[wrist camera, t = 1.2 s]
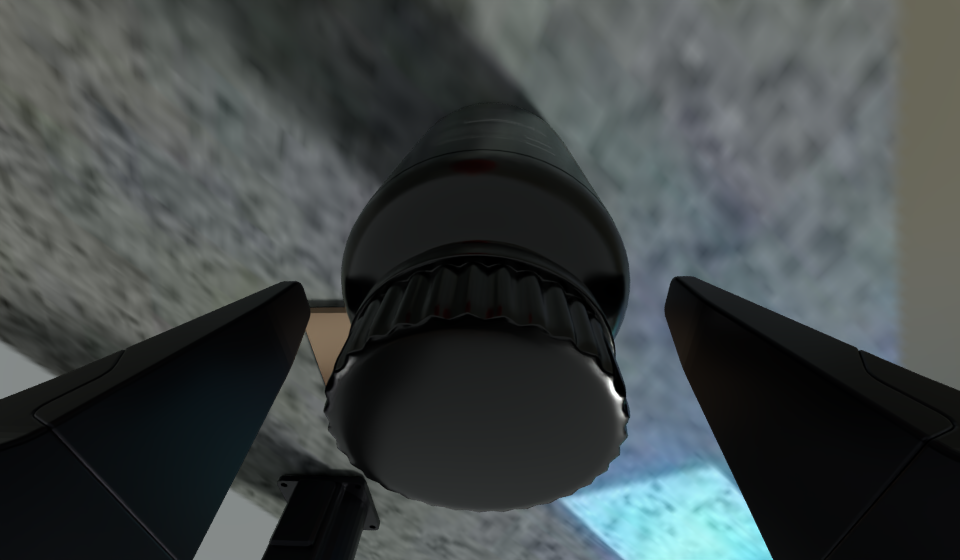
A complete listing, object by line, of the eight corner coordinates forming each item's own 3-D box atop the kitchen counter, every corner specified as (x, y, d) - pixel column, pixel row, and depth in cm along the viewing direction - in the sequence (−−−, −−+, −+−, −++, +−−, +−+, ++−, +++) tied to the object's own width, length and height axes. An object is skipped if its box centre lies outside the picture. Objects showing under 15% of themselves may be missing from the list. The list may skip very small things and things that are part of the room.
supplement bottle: (383, 206, 17) (192, 451, 6) (470, 59, 14) (367, 81, 3) (507, 285, 18) (513, 577, 8) (609, 171, 15) (819, 409, 5)
